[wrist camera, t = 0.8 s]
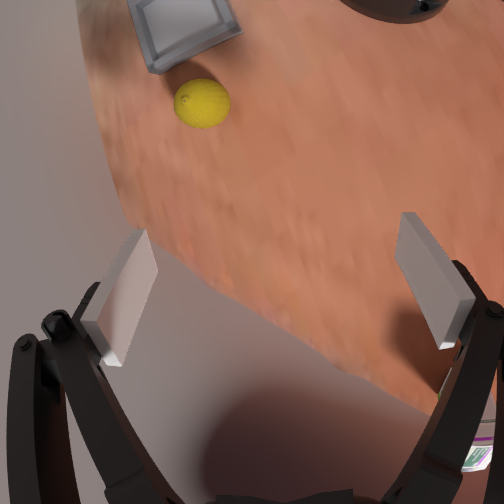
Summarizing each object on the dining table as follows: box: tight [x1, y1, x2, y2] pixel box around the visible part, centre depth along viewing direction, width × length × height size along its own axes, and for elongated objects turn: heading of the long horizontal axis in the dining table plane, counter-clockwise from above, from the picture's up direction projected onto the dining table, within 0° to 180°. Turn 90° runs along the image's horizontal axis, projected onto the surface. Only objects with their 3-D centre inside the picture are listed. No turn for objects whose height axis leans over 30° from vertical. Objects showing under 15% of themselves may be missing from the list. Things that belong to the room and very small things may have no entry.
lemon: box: [174, 78, 231, 129], centre depth 31 cm, size 6×6×8 cm
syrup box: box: [438, 367, 496, 472], centre depth 30 cm, size 6×6×14 cm
